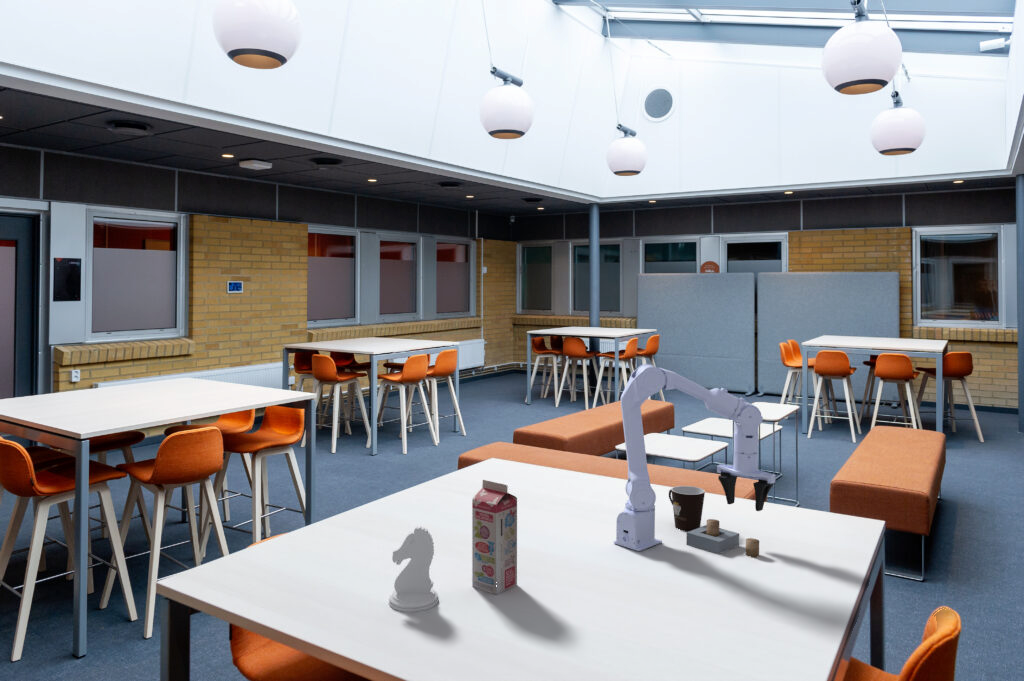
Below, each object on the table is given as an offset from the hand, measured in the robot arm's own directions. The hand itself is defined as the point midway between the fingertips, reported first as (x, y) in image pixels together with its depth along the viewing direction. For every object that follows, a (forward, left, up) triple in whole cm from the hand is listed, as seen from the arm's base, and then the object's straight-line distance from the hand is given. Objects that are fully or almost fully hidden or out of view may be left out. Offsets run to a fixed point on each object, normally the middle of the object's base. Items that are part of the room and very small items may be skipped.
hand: (744, 506), depth 174 cm
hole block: (-6, +5, -9) cm, 12 cm away
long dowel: (-6, +5, -9) cm, 12 cm away
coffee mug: (+2, +18, -10) cm, 20 cm away
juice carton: (-62, +22, -10) cm, 66 cm away
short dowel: (-5, -5, -10) cm, 12 cm away
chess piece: (-79, +27, -10) cm, 84 cm away
